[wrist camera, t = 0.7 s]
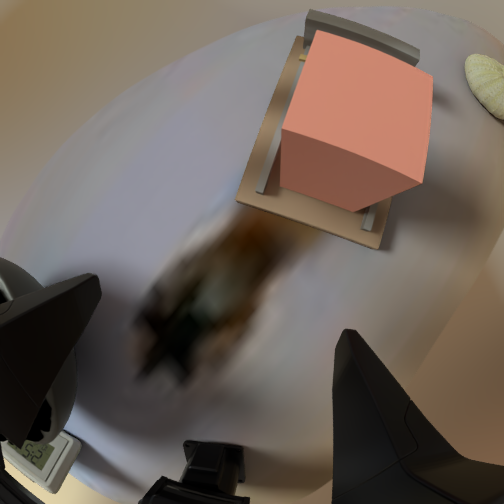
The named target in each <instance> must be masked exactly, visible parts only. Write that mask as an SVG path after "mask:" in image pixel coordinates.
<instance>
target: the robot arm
mask: <svg viewBox="0 0 504 504" xmlns="http://www.w3.org/2000/svg"><path fill="white" fill-rule="evenodd" d="M101 294H102V293H101V288H100V283H99V278H98V276H97V275H95V274H92V273H86V274H83V275H80V276H77V277H74V278H71V279H69V280H66V281H63V282H60V283H57V284H54V285H52V286H49V287H46V288H43V289H40V290H38V291H35V292H32V293H29V294H27V295H24V296H21V297H19V298H16V299H15V300H14V299H13V300H10V301H8V302H5V303H2V304H0V433H1V434H2V435H4V436H5V437H6V438H7V439H8V440H9V441H10V442H12V443H13V444H14V445H15V446H16V447H17V448H19V449H20V450H21V449H22V447H23V445H24V442H25V440H26V438H27V435H28V433H29V431H30V429H31V426H32V424H33V422H34V420H35V418H36V416H37V414H38V412H39V409H40V407H41V405H42V403H43V401H44V399H45V397H46V395H47V393H48V392H49V390H50V388H51V386H52V384H53V382H54V380H55V379H56V377H57V375H58V373H59V371H60V370H61V368H62V366H63V364H64V363H65V361H66V359H67V357H68V356H69V354H70V352H71V351H72V349H73V347H74V346H75V344H76V342H77V341H78V339H79V338H80V336H81V334H82V333H83V331H84V329H85V328H86V326H87V324H88V322H89V320H90V318H91V316H92V314H93V312H94V310H95V308H96V306H97V304H98V303H99V301H100V299H101ZM332 399H333V487H332V504H504V466H501V465H495V464H489V463H485V462H479V461H475V460H471V459H468V458H465V457H464V456H462V455H461V454H459V453H458V452H457V451H456V450H455V449H454V448H453V447H452V446H451V445H450V444H449V443H448V442H447V441H446V439H445V438H444V437H443V436H442V435H441V434H440V433H439V432H438V431H437V430H436V429H435V428H434V426H433V425H432V424H431V423H430V422H429V421H428V420H427V419H426V417H425V416H424V415H423V414H422V412H421V411H420V410H419V409H418V407H417V406H416V405H415V404H414V402H413V401H412V400H410V397H409V396H408V395H407V393H406V392H405V391H404V389H403V388H402V387H401V385H400V384H399V383H398V382H397V380H396V379H395V378H394V377H393V375H392V374H391V373H390V371H389V370H388V369H387V368H386V366H385V365H384V364H383V363H382V361H381V360H380V359H379V358H378V356H377V355H376V354H375V353H374V351H373V350H372V349H371V348H370V347H369V345H368V344H367V343H366V342H365V340H364V339H363V338H362V337H361V336H360V334H359V333H358V332H357V331H356V330H353V329H344V330H343V332H342V334H341V336H340V338H339V341H338V343H337V345H336V348H335V358H334V373H333V387H332ZM187 444H188V445H187ZM183 447H184V452H185V456H186V460H187V465H186V467H185V469H184V471H183V474H182V476H181V478H180V480H179V482H177V481H174V480H171V479H168V478H167V477H164V476H161V478H160V479H159V480H157V481H156V482H155V484H154V485H153V486H152V487H151V488H150V490H149V491H148V492H147V493H146V494H145V496H144V497H143V498H142V499H141V500H139V502H138V504H250V497H245V496H244V497H240V496H235V492H236V487H237V483H244V482H245V468H244V453H243V448H242V447H241V446H231V445H220V444H210V443H202V442H194V441H184V443H183ZM238 450H240V451H238ZM0 504H45V503H44V502H42V501H41V500H40V499H39V498H37V497H36V496H35V495H33V494H32V493H31V492H30V491H28V490H27V489H26V488H25V487H23V486H22V485H21V484H20V483H19V482H18V481H17V480H15V479H14V478H13V477H12V476H11V475H10V474H9V473H8V472H7V471H6V470H5V464H4V460H3V453H2V447H1V442H0Z"/></svg>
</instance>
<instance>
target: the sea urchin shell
mask: <svg viewBox="0 0 504 504" xmlns="http://www.w3.org/2000/svg"><path fill="white" fill-rule="evenodd" d="M465 73H466V79H467V81H468V84H469V87H470V89H471V91H472V93H473V94H474V95H475V97H476V98H477V99H478V100H479V101H480V103H482V105H484V106H485V107H486V109H487V110H488V111H489V112H490V113H492V114H493V115H494V116H495V117H496V118H499V119H502V120H504V66H503V65H502V64H500V63H499V62H497V61H496V60H494V59H492V58H489V57H488V56H485V55H481V54H473V55H470V56H469V57H468V58H467V59H466V63H465Z"/></svg>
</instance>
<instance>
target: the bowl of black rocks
mask: <svg viewBox="0 0 504 504" xmlns="http://www.w3.org/2000/svg"><path fill="white" fill-rule="evenodd" d="M40 289H43V286H42V285H41V284H40V283H39V282H38V281H37V280H36V279H35V278H34V277H32V276H31V275H30V274H29V273H28V272H26V271H25V270H24V269H22V268H21V267H19V266H17V265H16V264H14V263H12V262H10V261H8V260H6V259H4V258H0V304H2V303H5V302H8V301H10V300H13V299H14V300H15V299H16V298H19V297H21V296H24V295H27V294H29V293H32V292H35V291H38V290H40ZM76 388H77V366H76V357H75V352H74V347H73V349H72V351H71V352H70V354H69V356H68V357H67V359H66V361H65V363H64V364H63V366H62V368H61V370H60V371H59V373H58V375H57V377H56V379H55V380H54V382H53V384H52V386H51V388H50V390H49V392H48V393H47V395H46V397H45V399H44V401H43V403H42V405H41V407H40V409H39V412H38V414H37V416H36V418H35V420H34V422H33V424H32V426H31V429H30V431H29V433H28V435H27V438H26V440H29V441H31V442H33V443H36V444H48V443H50V442H52V441H53V440H54V439H55V438H56V437H57V436H58V435H59V434H60V432H61V431H62V430H63V428H64V426H65V424H66V423H67V421H68V419H69V416H70V414H71V411H72V408H73V405H74V401H75V396H76ZM6 440H8V439H7V438H6V437H5V436H4V435H2V434H1V433H0V442H4V441H6ZM26 440H25V441H26ZM8 442H9V443H10V444H11V445H14V444H13V443H12V442H10V441H9V440H8Z"/></svg>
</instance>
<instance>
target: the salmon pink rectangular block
mask: <svg viewBox="0 0 504 504" xmlns="http://www.w3.org/2000/svg"><path fill="white" fill-rule="evenodd" d="M432 92H433V77H432V76H430V75H429V74H427V73H425V72H423V71H421V70H419V69H417V68H416V67H414V66H412V65H410V64H408V63H405V62H403V61H401V60H399V59H397V58H395V57H393V56H390V55H388V54H386V53H383V52H381V51H379V50H376V49H374V48H371V47H369V46H366V45H363V44H361V43H358V42H355V41H352V40H349V39H346V38H343V37H340V36H337V35H334V34H330V33H327V32H323V31H320V30H317V31H316V33H315V36H314V39H313V42H312V44H311V47H310V50H309V53H308V55H307V58H306V61H305V64H304V66H303V69H302V72H301V75H300V77H299V80H298V83H297V86H296V89H295V91H294V94H293V97H292V100H291V103H290V106H289V108H288V111H287V114H286V117H285V120H284V123H283V125H282V128H281V165H280V187H283V188H286V189H289V190H292V191H295V192H298V193H301V194H304V195H307V196H310V197H313V198H316V199H318V200H321V201H324V202H327V203H330V204H332V205H335V206H338V207H340V208H343V209H346V210H348V211H351V212H355V211H358V210H360V209H362V208H365V207H367V206H370V205H372V204H374V203H377V202H379V201H382V200H384V199H386V198H389V197H391V196H393V195H396V194H398V193H401V192H403V191H405V190H408V189H410V188H413V187H415V186H417V185H420V184H422V182H423V176H424V170H425V164H426V158H427V150H428V143H429V134H430V124H431V111H432Z"/></svg>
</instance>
